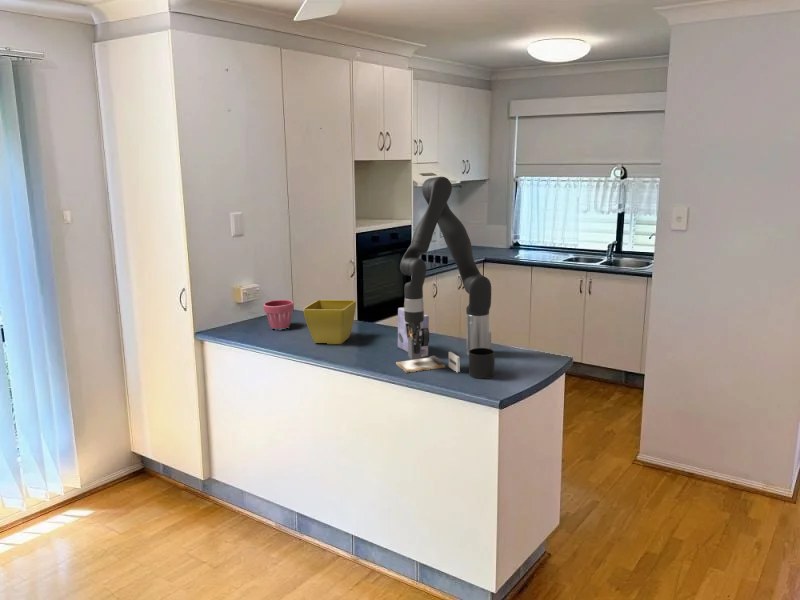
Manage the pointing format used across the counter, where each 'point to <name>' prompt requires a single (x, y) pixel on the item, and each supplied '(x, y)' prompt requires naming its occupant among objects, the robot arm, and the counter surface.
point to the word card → (454, 362)
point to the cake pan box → (403, 334)
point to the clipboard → (421, 364)
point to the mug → (481, 363)
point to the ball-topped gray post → (412, 349)
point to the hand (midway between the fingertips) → (414, 351)
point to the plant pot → (279, 313)
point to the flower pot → (330, 320)
